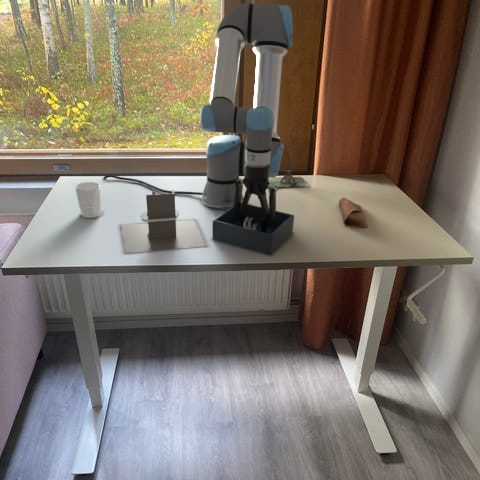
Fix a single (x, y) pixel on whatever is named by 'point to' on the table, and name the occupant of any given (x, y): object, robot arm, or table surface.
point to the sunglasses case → (351, 213)
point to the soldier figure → (249, 224)
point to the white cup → (89, 199)
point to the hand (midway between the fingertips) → (253, 234)
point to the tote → (267, 243)
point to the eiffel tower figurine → (288, 178)
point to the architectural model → (161, 228)
